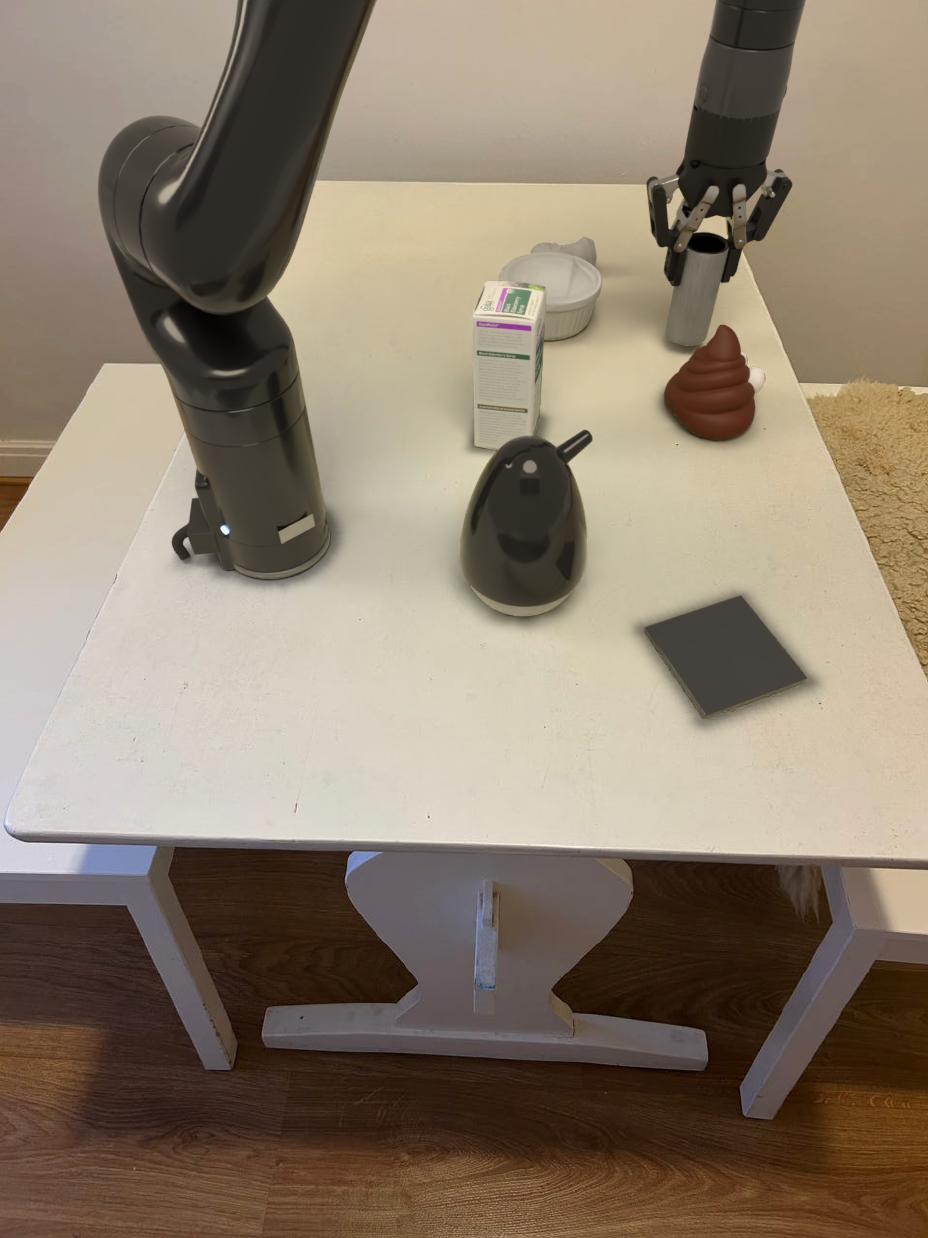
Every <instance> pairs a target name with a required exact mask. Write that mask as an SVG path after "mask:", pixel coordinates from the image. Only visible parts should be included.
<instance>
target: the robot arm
mask: <svg viewBox="0 0 928 1238" xmlns="http://www.w3.org/2000/svg"><path fill="white" fill-rule="evenodd" d="M377 1H378V0H237V2H236V3H237V4H236V12H235V21H234V26H233V31H232V36H231V41H230V42H231V43H230V45H229V49H228V53H227V56H226V60H225V63H224V66H223V70H222V72H221V75H220V78H219V80H218V84H217V85H216V89H215V92H214V95H213V97H212V100H211V103H210V106H209V108H208V111H207V113H206V115H205V118H204V121H203V123H202V125H201V126H199V125H197V124H196V123H194V122H191V121H189V120H186V119H184V118H179V117H176V116H171V115H151V116H145V117H141V118H139V119H136V120H134V121H133V122H131V123H129V124H127V125H126V126H124V127H123V128H122V129H120V131H119V132H117V134H116V135H115V136H114V137H113V138H112V140H111V141H110V143H109V145H108V146H107V148H106V150H105V152H104V154H103V156H102V160H101V162H100V167H99V171H98V176H97V177H98V179H97V200H98V201H97V202H98V209H99V214H100V218H101V224H102V227H103V230H104V234H105V237H106V240H107V244H108V247H109V249H110V252H111V255H112V258H113V260H114V263H115V266H116V269H117V271H118V274H119V277H120V280H121V281H122V284H123V288H124V290H125V292H126V295H127V298H128V301H129V303H130V306H131V308H132V311H133V313H134V316H135V318H136V321H137V323H138V326H139V329H140V331H141V333H142V336H143V337H144V339H145V341H146V343H147V345H148V347H149V349H150V350H151V352H152V353H153V355H154V357H155V358H156V359H157V360H158V363H159V364H160V366H161V367H162V369H163V372H164V374H165V376H166V379H167V382H168V384H169V388H170V390H171V394H172V398H173V399H174V402H175V405H176V408H177V412H178V415H179V418H180V420H181V423H182V427H183V430H184V433H185V436H186V439H187V441H188V445H189V448H190V451H191V454H192V457H193V460H194V463H195V467H196V471H195V477H194V478H195V479H194V489H195V492H196V495H197V497H193V498H191V504H190V511H189V518H188V523H186V524H185V525H184V526H181V528H179V529H178V530H177V531H176V532H174V534H173V536H172V538H171V546H172V549H173V551H174V553H175V554H176V555H177V556H178V558H179V560H181V561H185V560H188V559H189V558H191V554H190V552H189V551H188V549H187V548H186V547H185V545H184V542H185V540H186V539H188V542H189V543H190V548H191V549H192V552H193V554H194V556H195V555H196V556H197V555H208V554H209V555H210V554H217V557H218V560H219V563H220V567H221V569H222V570H223V571H228V570H232V571H233V570H235V571H237V572H239V573H241V574H242V575H244V576H248V577H251V578H254V579H259V580H260V579H261V580H279V579H284V578H288V577H292V576H295V575H298V574H300V573H302V572H304V571H306V570H307V569H310V568H311V567H313V566H314V565H315V564H316V563H318V562H319V561H320V560H321V559H322V557H323V556H324V555H325V553H326V551H327V550H328V548H329V545H330V542H331V535H332V534H331V528H330V522H329V520H328V514H327V511H326V507H325V501H324V495H323V490H322V489H323V488H322V484H321V477H320V474H319V468H318V462H317V457H316V452H315V448H314V441H313V436H312V430H311V425H310V424H311V423H310V420H309V419H310V418H309V414H308V408H307V403H306V398H305V397H306V396H305V393H304V392H305V391H304V386H303V381H302V376H301V370H300V365H299V361H298V360H299V359H298V354H297V349H296V344H295V341H294V336H293V334H292V331H291V328H290V327H289V325H288V323H287V322H286V321H285V319H284V318H283V316H282V315H281V314H280V312H279V311H278V310H277V308H276V306H275V305H274V304H273V303H272V301H271V300H270V297H268V295H270V294H271V293H272V291H273V290H274V289H275V287H276V286H277V284H278V283H279V281H280V280H281V279H282V277H283V275H284V274H285V272H286V270H287V268H288V266H289V264H290V262H291V260H292V257H293V255H294V252H295V249H296V247H297V245H298V241H299V238H300V236H301V231H302V228H303V226H304V222H305V220H306V215H307V212H308V209H309V208H308V207H309V205H310V202H311V198H312V195H313V192H314V189H315V186H316V185H315V184H316V182H317V179H318V174H319V170H320V167H321V165H322V161H323V157H324V154H325V150H326V147H327V144H328V140H329V137H330V134H331V130H332V127H333V124H334V120H335V117H336V114H337V111H338V108H339V105H340V101H341V98H342V96H343V93H344V90H345V87H346V84H347V81H348V80H349V79H348V78H349V76H350V73H351V71H352V68H353V66H354V63H355V61H356V58H357V56H358V53H359V50H360V47H361V45H362V41H363V39H364V37H365V34H366V31H367V29H368V26H369V24H370V20H371V17H372V15H373V12H374V9H375V7H376V4H377ZM806 1H807V0H715V4H714V10H713V15H712V19H711V24H710V31H709V35H708V40H707V43H706V46H705V49H704V51H703V56H702V59H701V63H700V67H699V71H698V78H697V82H696V88H695V93H694V99H693V104H692V109H691V115H690V120H689V125H688V130H687V135H686V140H685V147H684V155H683V159H682V161H681V163H680V165H679V166H678V168H677V169H676V171H675V174H672V175H669V176H666V177H662V178H660V179H659V177H657V176H650V177H649V178H648V179H647V180H646V183H645V184H646V185H645V186H646V194H647V195H646V196H647V205H648V214H649V223H650V232H651V235H652V237H653V238H654V239H655V242H656V244H657V247H659V248H663V249H664V248H667V249H666V255H665V259H664V265H663V274H664V276H665V278H666V280H667V281H668V282H669V284H670V286H671V287H674V286H679V285H680V282H681V278H682V273H683V268H684V263H685V259H686V254H687V252H686V251H685V248H686V246H687V244H688V242H689V241H690V239H691V237H692V235H693V233H697V231H698V230H699V229H700V227H701V225H702V223H703V221H704V219H710V218H713V217H720V218H725V228H726V235H727V238H725V239H726V240H727V241H728V243H729V250H728V254H727V258H726V262H725V266H724V270H723V274H722V278H721V282H720V284H727V283H728V284H729V283H730V281H731V278H732V277H733V278H734V277H735V275H736V274H737V271H738V269H739V264H740V260H741V256H742V252H743V249H744V247H745V246H746V245H747V244H749V243H751V242H753V241H755V242H761V241H763V240H764V239H765V238H766V236H767V234H768V232H769V230H770V229H771V227H772V225H773V223H774V221H775V219H776V218H777V215H778V214H779V212H780V211H781V208H782V206H783V205H784V203H785V201H786V199H787V197H788V195H789V194H790V192H791V190H792V188H793V181H792V180H791V179H790V178H789V176H788V175H787V173H786V172H785V171H784V170H783V169H782V168H776V169H775V170H773V171H772V170H769V169H768V168H767V158H768V157H769V155H770V151H771V148H772V144H773V141H774V137H775V132H776V129H777V125H778V121H779V116H780V113H781V109H782V106H783V101H784V98H785V97H786V95H787V90H788V84H789V83H788V82H789V79H790V75H791V70H792V63H793V56H794V50H795V44H796V39H797V35H798V32H799V28H800V25H801V22H802V21H801V20H802V16H803V13H804V9H805V5H806ZM678 189H679V191H680V194H681V195H682V197H683V198H682V200H681V202H680V204H679V206H678V208H677V210H676V216H675V219H674V221H673V223H672V224H671V227H670V226H669V225H670V224H669V216H668V205H669V204H671V202H672V200H673V197H674V193H675V192H676V190H678ZM759 189H760V192H761V193H760V196H759V197H758V199H757V201H756V204H755V205H754V208H753V209H752V211H751V213H750V215H749V217H747V215H748V214H747V202H748V201H749V200H750V199H751V198H752V197H753V195H754V194H755V193H756V192H757V191H758V190H759Z"/></svg>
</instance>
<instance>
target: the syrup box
mask: <svg viewBox="0 0 928 1238" xmlns="http://www.w3.org/2000/svg"><path fill="white" fill-rule="evenodd" d="M546 292H547V289H546V287H545V286H540V285H535V284H529V283H522V282H510V281H499V280H494V281H493V280H491V281H490V280H485V281H484V285H483V287H482V290H481V292H480V294H479V296H478V298H477V301H476V303H475V306H474V309H473V311H472V314H471V326H472V329H471V331H472V334H471V335H472V399H473V400H472V401H473V403H472V404H473V406H472V407H473V446H475V447H477V448H481V449H488V450H493V451H497V450H498V449H499V448H500V447H501V446H502V445H504V444H505V443H506V442H508V441H510V440H512V439H514V438H517V437H520V436H537V430H538V427H539V422H540V418H541V417H540V416H541V400H542V399H541V398H542V382H543V366H544V365H543V364H544V348H545V346H544V345H545V340H544V330H545V310H546Z"/></svg>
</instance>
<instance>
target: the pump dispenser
mask: <svg viewBox="0 0 928 1238" xmlns="http://www.w3.org/2000/svg"><path fill="white" fill-rule="evenodd" d="M591 443H593V435H592V432H590V431H589V430H587V429H583V430H581V431H579V432H577V433H576V434H575V435H573V436H571V437H570V438H569V439H567V440H565V441H564V442H562V443H561V444H559V445H557V446H556V445H555V444H553V443H552V442H550V441H549V440H547V439H546V438H544V437H542V436H541V437H540V436H537V435H535V436H520V437H517V438H514V439H512V440H510V441H508V442H506V443H505V444H504V445H502V446H501V447H500V448H499V449H498V450H495V452H494V453H493V454H492V456H491V457H490V458H489V460H488V462H487V463H486V464H485V466H484V468H483V470H482V472H481V473H480V475H479V477H478V479H477V481H476V484H475V486H474V488H473V491H472V493H471V495H470V499H469V501H468V504H467V508H466V511H465V514H464V517H463V523H462V527H461V532H460V539H459V546H458V547H459V548H458V558H459V566H460V570H461V573H462V575H463V577H464V578H465V580H466V581H467V582H468V584H469V585H470V587H471V589H472V590H473V592H474V594H476V596H477V597H478V598H479V600H481V601H482V602H483V603H484V604H485V605H487V606H489V607H490V608H491V609H493V610H495V611H497V612H500V613H502V614H505V615H510V616H514V617H532V616H536V615H537V616H538V615H541V614H544V613H546V612H549V611H551V610H553V609H555V608H556V607H558V606H559V605H560V604H561V603H563V602H564V601H565V600H566V599H567V598H568V597H569V595H570V594H571V593H572V592H573V591H574V589H576V588H577V587H578V585H579V584H580V583H581V581H582V579H583V577H584V575H585V571H586V568H587V561H588V528H587V520H586V519H587V518H586V512H585V508H584V502H583V499H582V494H581V491H580V488H579V485H578V483H577V480H576V476H575V475H574V473H573V470H572V468H571V466H570V464H569V463H570V462H571V461H572V460H573V459H574V458H576V457H577V456H578V455H579V454H580V453H581V452H582V451H583V450H585V449H586V448H587V447H588V446H590V444H591Z"/></svg>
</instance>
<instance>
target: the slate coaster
mask: <svg viewBox="0 0 928 1238" xmlns="http://www.w3.org/2000/svg"><path fill="white" fill-rule="evenodd" d="M643 632H644V633H645V635H646V637H647V638H648V640H649V641H650V642H651V645H653V647H654V648H655V649H656V651H657V653H658V654H659V655H660V657H661V658H662V660H663V661H664V663H665V665H667V667H668V669H669V670H670V672H671V673H672V674H673V677H675V679H676V680H677V681H678V684H680V686H681V688H682V689H683V691H684V692H685V693H686V695H687V696H688V698H689V699H690V701H691V703H692V704H694V706H695V708H696V710H697V711H698V712H699V714H700V715H701V717H702V718H703V719H704V720H707V719H709V718H713V717H715V716H717V715H720V714H723V713H726V712H729V711H731V710H733V709H737V708H740V707H743V706H745V705H747V704H749V703H753V702H755V701H759V700H761V699H764V698H766V697H769V696H772V695H774V694H777V693H780V692H782V691H785V690H788V689H791V688H793V687H796V686H799V685H801V684H805V683H806V682H807V681H808V676H807V675H806V674H805V673H804V672H803V669H801V668H800V667H799V665H798V664H797V662H795V661H794V659H793V658H792V657H791V655H790V653H788V651H787V650H786V649H785V648H784V646H783V645H782V644H781V643H780V642H779V640H778V639H777V637H775V635H774V634H773V633H772V631H771V630H770V629H769V628H768V627H767V625H766V624H765V623H764V621H763V620H762V619H761V618H760V616H759V615H758V614H757V613H756V612H755V611H754V609H753V608H752V607H751V605H750V604H749V603H748V602H747V600H746V599H745V598H744V597H743V595H741V594H739V595H737V596H734V597H731V598H728V599H725V600H723V601H719V602H717V603H712V604H710V605H707V606H705V607H701V608H699V609H696V610H692V611H690V612H686V613H683V614H680V615H677V616H674V617H671V618H667V619H666V620H662V621H659V622H656V623H652V624H650V625H647V626H645V627H644V630H643Z"/></svg>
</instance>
